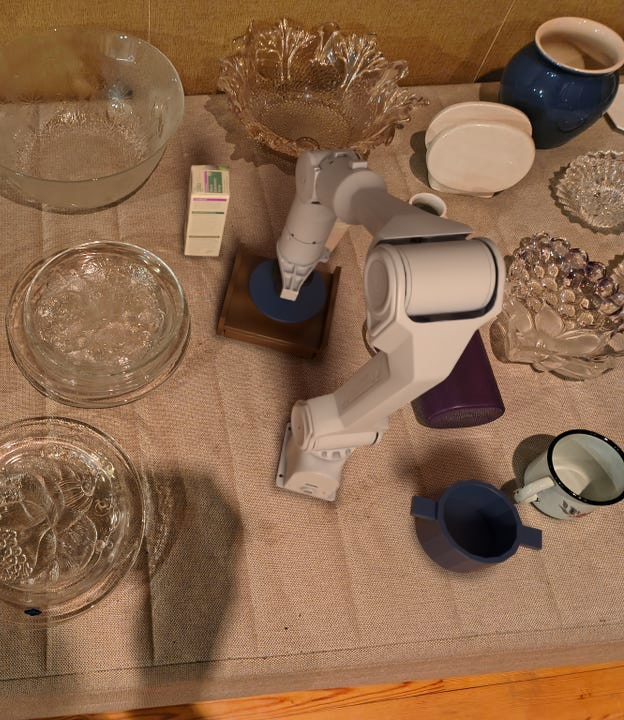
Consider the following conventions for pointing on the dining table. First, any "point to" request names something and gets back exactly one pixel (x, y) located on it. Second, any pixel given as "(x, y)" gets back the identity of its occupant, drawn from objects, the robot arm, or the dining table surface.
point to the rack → (263, 331)
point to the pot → (471, 527)
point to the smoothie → (336, 234)
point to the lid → (281, 308)
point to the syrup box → (206, 210)
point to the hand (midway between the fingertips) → (284, 285)
